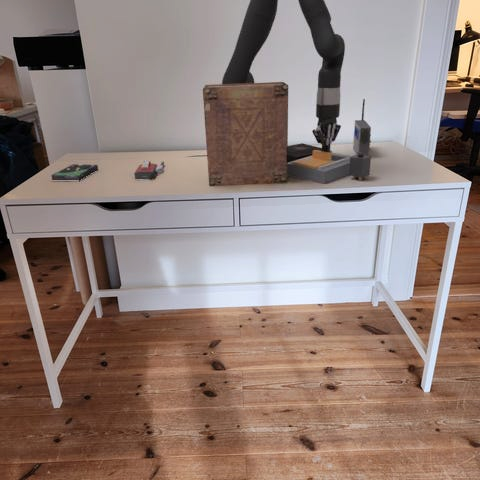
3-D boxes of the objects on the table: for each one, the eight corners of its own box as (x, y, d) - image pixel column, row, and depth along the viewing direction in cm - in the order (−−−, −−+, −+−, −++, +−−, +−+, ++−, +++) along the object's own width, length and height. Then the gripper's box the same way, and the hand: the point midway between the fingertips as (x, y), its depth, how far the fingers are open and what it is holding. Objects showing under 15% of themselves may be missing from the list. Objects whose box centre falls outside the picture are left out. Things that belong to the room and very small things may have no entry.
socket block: (285, 174, 149) (285, 160, 147) (325, 162, 163) (325, 149, 161) (323, 183, 138) (324, 169, 136) (362, 169, 152) (363, 155, 150)
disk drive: (73, 171, 166) (52, 182, 152) (72, 164, 165) (50, 174, 151) (99, 171, 164) (79, 182, 151) (97, 164, 163) (78, 174, 150)
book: (208, 186, 141) (201, 87, 128) (209, 178, 149) (203, 84, 137) (287, 183, 141) (288, 84, 128) (284, 175, 149) (285, 81, 137)
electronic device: (352, 148, 181) (356, 98, 173) (369, 148, 181) (373, 97, 172) (358, 159, 166) (362, 104, 157) (376, 158, 165) (381, 103, 157)
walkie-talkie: (159, 180, 149) (166, 165, 168) (158, 168, 148) (165, 154, 166) (133, 182, 149) (143, 167, 167) (132, 169, 147) (141, 155, 166)
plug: (348, 178, 142) (350, 153, 139) (356, 175, 145) (358, 150, 142) (361, 181, 139) (363, 155, 136) (369, 178, 142) (371, 152, 139)
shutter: (293, 164, 145) (294, 154, 144) (312, 159, 151) (312, 149, 150) (315, 169, 139) (315, 158, 138) (333, 163, 145) (334, 153, 144)
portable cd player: (300, 152, 180) (300, 143, 178) (330, 160, 167) (330, 150, 165) (268, 159, 172) (268, 149, 170) (296, 168, 158) (296, 157, 157)
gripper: (330, 99, 148) (328, 150, 155) (306, 103, 140) (304, 157, 147) (349, 100, 143) (346, 153, 150) (325, 105, 135) (322, 160, 142)
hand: (325, 155), depth 149 cm, fingers closed
